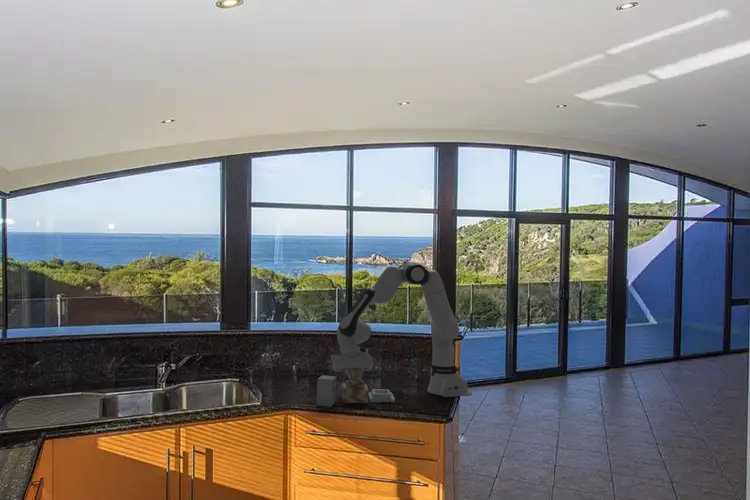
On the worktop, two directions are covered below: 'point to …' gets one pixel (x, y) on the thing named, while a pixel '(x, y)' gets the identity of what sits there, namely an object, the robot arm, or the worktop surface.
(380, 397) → the sage socket plate
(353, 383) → the cream plug block
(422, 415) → the worktop surface
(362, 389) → the birch stand
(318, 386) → the supplement box
